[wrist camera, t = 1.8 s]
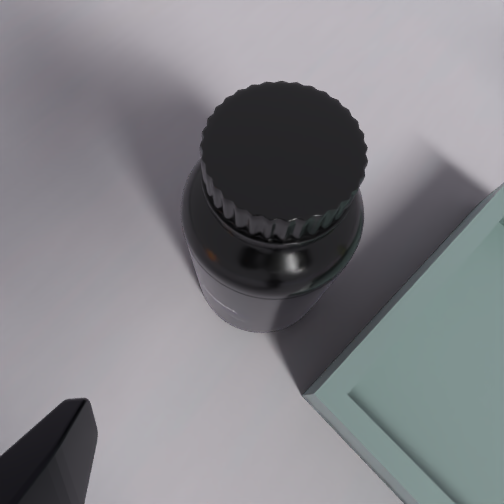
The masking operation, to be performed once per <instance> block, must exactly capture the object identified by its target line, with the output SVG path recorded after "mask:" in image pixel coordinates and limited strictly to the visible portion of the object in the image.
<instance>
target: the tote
mask: <svg viewBox="0 0 504 504" xmlns="http://www.w3.org/2000/svg"><path fill="white" fill-rule="evenodd" d="M302 396H303V397H304V399H305V400H306V401H307V402H308V403H309V404H310V405H311V406H312V407H313V408H314V409H315V410H316V411H317V412H318V413H319V414H320V415H321V416H322V418H323V419H324V420H325V421H326V422H327V423H328V424H329V425H330V426H331V427H332V428H333V429H334V430H335V431H336V432H337V433H338V434H339V435H340V436H341V438H342V439H343V440H344V441H345V442H346V443H347V444H348V445H349V446H350V447H351V448H352V449H353V450H354V451H355V452H356V453H357V454H358V455H359V456H360V458H361V459H362V460H363V461H364V462H365V463H366V464H367V465H368V466H369V467H370V468H371V469H372V470H373V471H374V472H375V473H376V474H377V475H378V476H379V478H380V479H381V480H382V481H383V482H384V483H385V484H386V485H387V486H388V487H389V488H390V489H391V490H392V491H393V492H394V493H395V494H396V495H397V496H398V498H399V499H400V500H401V501H402V502H403V503H404V504H504V183H503V184H501V185H500V186H499V187H498V188H497V189H496V190H494V191H493V192H492V193H491V194H490V195H488V196H487V197H486V198H485V199H484V200H483V201H481V202H480V203H479V204H478V205H477V206H476V207H475V208H474V209H473V210H472V211H471V213H470V214H469V215H468V216H467V217H466V218H465V219H464V220H463V221H462V222H461V223H460V224H459V226H458V227H457V228H456V229H455V230H454V231H453V232H452V233H451V234H450V235H449V236H448V238H447V239H446V240H445V241H444V242H443V243H442V244H441V245H440V246H439V247H438V248H437V249H436V251H435V252H434V253H433V254H432V255H431V256H430V257H429V258H428V259H427V260H426V261H425V263H424V264H423V265H422V266H421V267H420V268H419V269H418V270H417V271H416V272H415V273H414V274H413V276H412V277H411V278H410V279H409V280H408V281H407V282H406V283H405V284H404V285H403V286H402V288H401V289H400V290H399V291H398V292H397V293H396V294H395V295H394V296H393V297H392V298H391V299H390V301H389V302H388V303H387V304H386V305H385V306H384V307H383V308H382V309H381V310H380V311H379V313H378V314H377V315H376V316H375V317H374V318H373V319H372V320H371V321H370V322H369V323H368V324H367V326H366V327H365V328H364V329H363V330H362V331H361V332H360V333H359V334H358V335H357V336H356V338H355V339H354V340H353V341H352V342H351V343H350V344H349V345H348V346H347V347H346V348H345V349H344V351H343V352H342V353H341V354H340V355H339V356H338V357H337V358H336V359H335V360H334V361H333V363H332V364H331V365H330V366H329V367H328V368H327V369H326V370H325V371H324V372H323V373H322V374H321V376H320V377H319V378H318V379H317V380H316V381H315V382H314V383H313V384H312V385H311V386H310V388H309V389H308V390H307V391H306V392H305V393H304V394H303V395H302Z"/></svg>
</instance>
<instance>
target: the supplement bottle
mask: <svg viewBox="0 0 504 504" xmlns="http://www.w3.org/2000/svg"><path fill="white" fill-rule="evenodd" d="M367 148H368V147H367V145H366V144H365V142H364V133H363V132H362V131H361V130H360V129H359V124H358V121H357V120H356V119H354V118H353V117H352V116H351V113H350V111H349V110H348V109H347V108H345V107H343V106H342V105H341V103H340V102H339V101H338V100H337V99H334V98H332V97H330V96H329V95H328V94H327V93H326V92H324V91H319V90H317V89H315V88H314V87H312V86H304V85H301V84H300V83H297V82H294V83H287V82H284V81H279V82H275V83H272V82H264V83H262V84H260V85H251V86H249V87H248V88H246V89H241V90H238V91H237V92H236V93H235V94H234V95H232V96H229V97H227V98H226V99H225V100H224V102H223V103H222V104H221V105H219V106H217V107H216V108H215V111H214V114H213V115H211V116H210V117H209V118H208V120H207V126H206V127H205V128H204V130H203V131H202V142H201V144H200V155H201V159H200V160H199V161H198V162H197V164H196V165H195V167H194V168H193V170H192V171H191V173H190V175H189V177H188V179H187V181H186V184H185V187H184V191H183V195H182V201H181V220H182V227H183V232H184V236H185V239H186V243H187V246H188V249H189V252H190V255H191V258H192V262H193V265H194V268H195V271H196V274H197V278H198V281H199V284H200V287H201V290H202V292H203V295H204V297H205V299H206V301H207V302H208V304H209V305H210V307H211V308H212V310H213V311H214V312H215V313H216V314H217V315H218V316H219V317H220V318H221V319H223V320H224V321H225V322H227V323H229V324H230V325H232V326H234V327H236V328H239V329H242V330H245V331H249V332H259V333H264V332H273V331H277V330H281V329H284V328H286V327H288V326H290V325H292V324H294V323H295V322H297V321H298V320H300V319H301V318H302V317H303V316H304V315H305V314H306V313H307V312H308V311H309V310H310V309H311V308H312V307H313V305H314V304H315V303H316V302H317V301H318V299H319V298H320V297H321V296H322V295H323V293H324V292H325V291H326V290H327V289H328V287H329V286H330V285H331V284H332V282H333V281H334V280H335V279H336V278H337V276H338V275H339V274H340V273H341V272H342V270H343V269H344V268H345V267H346V265H347V264H348V262H349V261H350V259H351V258H352V256H353V254H354V252H355V250H356V249H357V247H358V244H359V241H360V238H361V235H362V231H363V224H364V206H363V200H362V195H361V192H360V189H359V187H360V185H361V183H362V181H363V180H364V177H365V168H366V166H367V163H368V160H367V156H366V152H367Z"/></svg>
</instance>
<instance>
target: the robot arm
mask: <svg viewBox="0 0 504 504" xmlns="http://www.w3.org/2000/svg"><path fill="white" fill-rule="evenodd" d="M97 437H98V432H97V426H96V422H95V418H94V414H93V411H92V407H91V403H90V401H89V400H88V399H87V398H75V399H67V400H64V401H63V402H62V403H60V404H59V405H58V406H57V407H56V408H55V409H54V410H52V411H51V412H50V413H49V414H48V415H47V416H46V417H44V418H43V419H42V420H41V421H40V422H39V423H38V424H37V425H35V426H34V427H33V428H32V429H31V430H30V431H29V432H27V433H26V434H25V435H24V436H23V437H22V438H21V439H19V440H18V441H17V442H16V443H15V444H14V445H13V446H11V447H10V448H9V449H8V450H7V451H6V452H5V453H4V454H2V455H1V456H0V504H84V502H85V498H86V493H87V488H88V483H89V478H90V473H91V468H92V464H93V459H94V454H95V449H96V444H97Z"/></svg>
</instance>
